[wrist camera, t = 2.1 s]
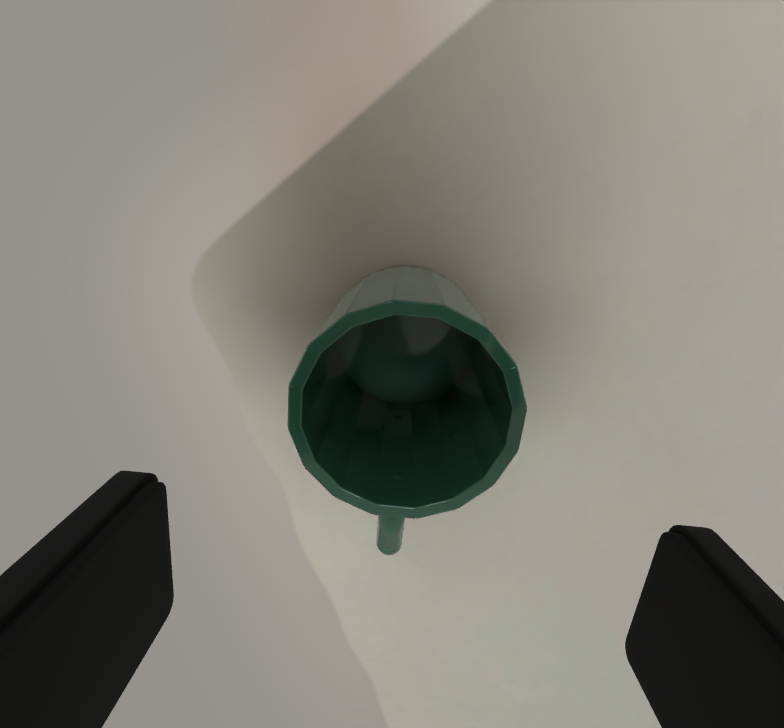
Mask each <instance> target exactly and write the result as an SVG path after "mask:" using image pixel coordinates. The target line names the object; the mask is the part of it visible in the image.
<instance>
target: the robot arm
mask: <svg viewBox="0 0 784 728" xmlns="http://www.w3.org/2000/svg"><path fill="white" fill-rule="evenodd" d="M173 596H174V594H173V580H172V565H171V551H170V537H169V522H168V509H167V494H166V486H165V485H164V483H162V482H158V479H157V477H156V475H154V474H152V473H143V472H142V473H141V472H132V471H120V472H118V473H117V474H115V475H114V476H113V477H112V478H111V479H109V480H108V481H107V482H106V483H105V484H104V485H103V486H102V487H101V488H99V489H98V490H97V491H96V492H95V493H94V494H92V495H91V496H90V497H89V498H88V499H87V500H86V501H85V502H83V503H82V504H81V505H80V506H79V507H78V508H77V509H76V510H74V511H73V512H72V513H71V514H70V515H69V516H67V518H65V519H64V520H63V521H62V522H61V523H60V524H58V525H57V526H56V527H55V528H54V529H53V530H52V531H50V532H49V533H48V534H47V535H46V536H45V537H44V538H43V539H41V540H40V541H39V542H38V543H37V544H36V545H35V546H33V547H32V548H31V549H30V550H29V551H28V552H27V553H25V554H24V555H23V556H22V557H21V558H20V559H19V560H18V561H16V563H14V564H13V565H12V566H11V567H10V568H8V569H7V570H6V571H5V572H4V573H3V574H2V575H1V576H0V728H102V726H103V725H104V723H105V721H106V720H107V718H108V716H109V715H110V713H111V711H112V710H113V708H114V706H115V705H116V703H117V701H118V699H119V698H120V696H121V694H122V692H123V691H124V689H125V688H126V686H127V684H128V683H129V681H130V679H131V678H132V676H133V674H134V673H135V671H136V669H137V668H138V666H139V664H140V662H141V661H142V659H143V658H144V656H145V654H146V653H147V651H148V649H149V648H150V646H151V644H152V643H153V641H154V639H155V637H156V636H157V634H158V632H159V631H160V629H161V627H162V626H163V624H164V622H165V621H166V619H167V617H168V615H169V613H170V610H171V607H172V603H173ZM625 648H626V654H627V658H628V661H629V663H630V665H631V667H632V669H633V671H634V673H635V675H636V677H637V679H638V681H639V683H640V685H641V687H642V689H643V691H644V693H645V695H646V697H647V699H648V701H649V703H650V705H651V707H652V709H653V711H654V713H655V715H656V717H657V719H658V721H659V723H660V725H661V727H662V728H784V601H783V600H782V599H781V598H780V597H779V596H778V595H777V594H776V593H775V592H774V591H773V590H772V589H771V588H770V587H769V586H768V585H767V584H766V583H765V582H764V581H763V580H762V579H761V578H760V577H759V576H758V575H757V574H756V573H755V572H754V571H753V570H752V569H751V568H750V567H749V566H748V565H747V564H746V563H745V562H744V561H743V560H742V559H741V558H740V557H739V556H738V555H737V554H736V553H735V552H734V551H733V550H732V549H731V548H730V547H729V546H728V545H727V544H726V543H725V542H724V541H723V540H722V539H721V538H720V537H719V535H718V534H717V533H715V532H714V531H713V530H711V529H709V528H704V527H693V526H683V525H675V526H673V527H672V528H670V530H669V532H665V533H663V534H662V535H661V537H660V539H659V542H658V545H657V548H656V551H655V554H654V557H653V560H652V563H651V566H650V569H649V572H648V575H647V578H646V581H645V584H644V587H643V590H642V593H641V596H640V599H639V602H638V605H637V608H636V611H635V614H634V617H633V620H632V623H631V626H630V629H629V632H628V635H627V638H626V642H625Z"/></svg>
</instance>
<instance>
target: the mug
mask: <svg viewBox="0 0 784 728" xmlns="http://www.w3.org/2000/svg"><path fill="white" fill-rule="evenodd" d="M526 408H527V405H526V401H525V397H524V393H523V388H522V384H521V380H520V375H519V371H518V367H517V365H516V363H515V361H514V360H513V359H512V357H511V356H510V355H509V353H508V352H507V351H506V349H505V348H504V347H503V345H502V344H501V342H500V341H499V340H498V338H497V337H496V336H495V334H494V333H493V332H492V330H491V329H490V327H489V326H488V325H487V323H486V322H485V321H484V319H483V318H482V317H481V315H480V314H479V313H478V311H477V310H476V308H475V307H474V306H473V305H472V303H471V302H470V301H469V299H468V298H467V297H466V296H465V294H464V293H463V292H462V290H461V289H460V288H459V287H458V285H456V284H455V283H453V282H452V281H450V280H449V279H447V278H446V277H444V276H443V275H441V274H438V273H436V272H434V271H431V270H429V269H425V268H420V267H414V266H399V267H391V268H387V269H383V270H381V271H378V272H375V273H373V274H371V275H369V276H367V277H365V278H364V279H363V280H362V281H360V282H359V283H358V284H356V285H355V286H354V287H353V288H352V289H351V290H350V291H349V292H348V293H347V294H345V296H344V297H343V298H342V300H341V301H340V302H339V304H338V305H337V306H336V308H335V309H334V311H333V312H332V313H331V315H330V316H329V317H328V319H327V320H326V321H325V323H324V324H323V326H322V327H321V328H320V330H319V331H318V332H317V334H316V335H315V336H314V338H313V339H312V341H311V342H310V343H309V345H308V346H307V348H306V350H305V352H304V354H303V356H302V358H301V360H300V362H299V364H298V366H297V369H296V371H295V373H294V375H293V377H292V379H291V381H290V383H289V389H288V430H289V432H290V434H291V437H292V439H293V442H294V444H295V446H296V449H297V451H298V453H299V456H300V458H301V461H302V463H303V465H304V466H305V468H306V469H307V470H308V471H309V472H310V473H311V474H312V475H313V476H314V477H315V478H316V479H317V480H318V481H319V482H320V483H321V484H322V485H323V486H324V487H325V488H326V489H327V490H328V491H329V492H330V493H331V494H332V495H333V496H335V497H336V498H338V499H340V500H342V501H344V502H346V503H349V504H351V505H353V506H355V507H357V508H359V509H362V510H364V511H366V512H368V513H370V514H374V515H379V517H378V528H377V539H376V542H377V547H378V549H379V550H380V551H381V552H382V553H383V554H385V555H393V554H395V553H397V552H398V551H399V550H400V548H401V545H402V538H403V530H404V522H405V518H413V519H415V518H421V517H426V516H430V515H434V514H438V513H442V512H447V511H451V510H455V509H457V508H460V507H461V506H463V505H464V504H466V503H467V502H469V501H470V500H472V499H473V498H475V497H477V496H478V495H480V494H481V493H483V492H484V491H486V490H487V489H489V488H490V487H492V486H493V485H494V484H495V483H496V481H497V480H498V478H499V477H500V476H501V474H502V473H503V471H504V470H505V469H506V467H507V466H508V464H509V463H510V462H511V460H512V459H513V457H514V456H515V454H516V453H517V451H518V449H519V445H520V440H521V435H522V430H523V426H524V421H525V416H526V411H527V409H526Z"/></svg>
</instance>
